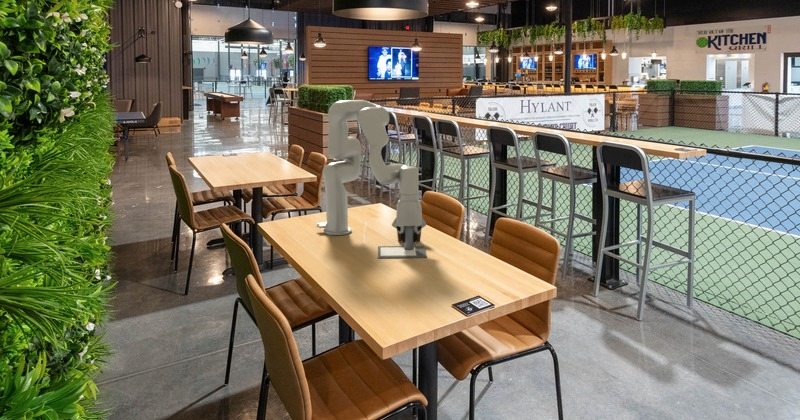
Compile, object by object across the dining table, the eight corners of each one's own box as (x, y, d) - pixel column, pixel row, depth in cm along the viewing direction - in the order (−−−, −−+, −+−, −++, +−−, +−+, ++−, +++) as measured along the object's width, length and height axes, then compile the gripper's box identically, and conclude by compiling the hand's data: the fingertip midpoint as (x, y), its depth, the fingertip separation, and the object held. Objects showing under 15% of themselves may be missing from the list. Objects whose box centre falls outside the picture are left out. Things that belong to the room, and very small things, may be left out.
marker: (404, 250, 233) (403, 218, 230) (403, 247, 238) (403, 216, 235) (414, 250, 234) (414, 218, 231) (413, 247, 238) (413, 216, 235)
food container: (424, 238, 252) (424, 215, 250) (423, 242, 246) (423, 219, 244) (396, 237, 254) (396, 215, 251) (394, 241, 248) (394, 218, 245)
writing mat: (377, 258, 225) (377, 257, 225) (378, 247, 239) (378, 246, 239) (426, 257, 225) (426, 256, 225) (424, 246, 240) (424, 245, 240)
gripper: (388, 199, 227) (388, 244, 231) (430, 199, 227) (430, 244, 232) (387, 195, 234) (388, 239, 238) (429, 195, 235) (428, 239, 239)
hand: (408, 241), depth 235 cm, fingers closed on marker, 3 cm apart
